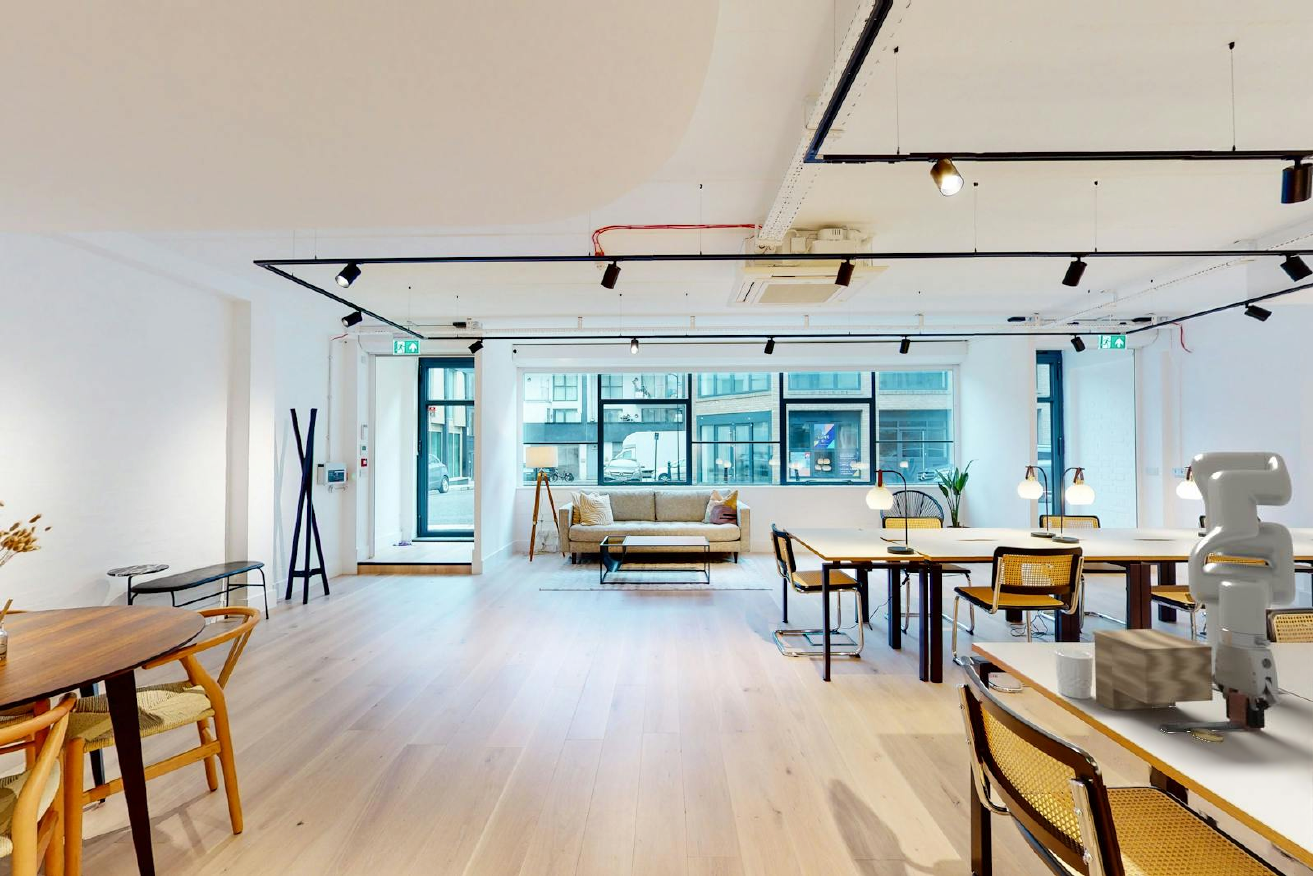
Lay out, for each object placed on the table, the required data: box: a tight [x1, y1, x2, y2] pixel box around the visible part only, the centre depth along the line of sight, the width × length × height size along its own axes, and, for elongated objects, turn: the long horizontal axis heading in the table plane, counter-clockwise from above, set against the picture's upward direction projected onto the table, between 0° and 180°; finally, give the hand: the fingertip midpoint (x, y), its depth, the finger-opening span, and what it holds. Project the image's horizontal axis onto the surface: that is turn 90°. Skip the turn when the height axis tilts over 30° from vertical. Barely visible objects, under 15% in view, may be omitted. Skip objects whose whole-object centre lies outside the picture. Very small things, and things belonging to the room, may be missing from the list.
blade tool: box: [1158, 692, 1262, 733], centre depth 136 cm, size 21×4×7 cm, turn 96°
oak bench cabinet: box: [1092, 628, 1214, 711], centre depth 145 cm, size 16×14×17 cm
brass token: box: [1190, 728, 1224, 743], centre depth 132 cm, size 5×5×1 cm
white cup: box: [1054, 648, 1094, 700], centre depth 156 cm, size 8×8×10 cm
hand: (1245, 722), depth 137 cm, fingers open, 4 cm apart
